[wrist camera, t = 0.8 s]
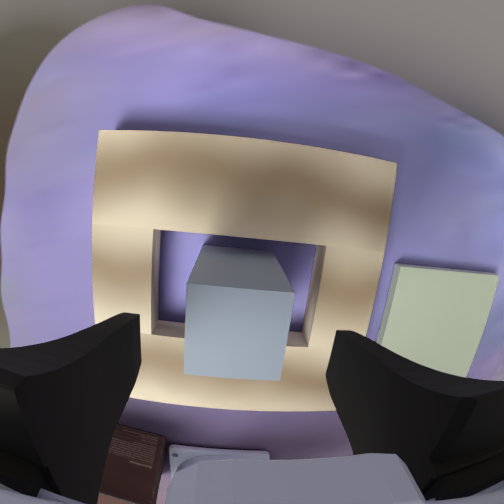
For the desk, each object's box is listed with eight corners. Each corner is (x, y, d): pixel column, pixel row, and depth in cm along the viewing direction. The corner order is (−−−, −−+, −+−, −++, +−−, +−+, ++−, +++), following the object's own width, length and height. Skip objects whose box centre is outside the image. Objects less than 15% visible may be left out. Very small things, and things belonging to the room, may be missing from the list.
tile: (457, 381, 22) (461, 386, 22) (360, 392, 22) (363, 398, 21) (493, 272, 20) (499, 275, 19) (394, 263, 19) (400, 266, 19)
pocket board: (335, 393, 21) (343, 409, 19) (112, 376, 20) (103, 392, 18) (381, 163, 18) (397, 163, 16) (112, 134, 17) (99, 130, 15)
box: (95, 414, 21) (64, 479, 14) (167, 435, 22) (153, 507, 15) (98, 458, 22) (75, 517, 15) (161, 475, 23) (150, 539, 16)
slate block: (264, 314, 20) (279, 380, 13) (198, 309, 19) (183, 373, 13) (272, 251, 19) (295, 292, 12) (203, 244, 18) (186, 283, 12)
